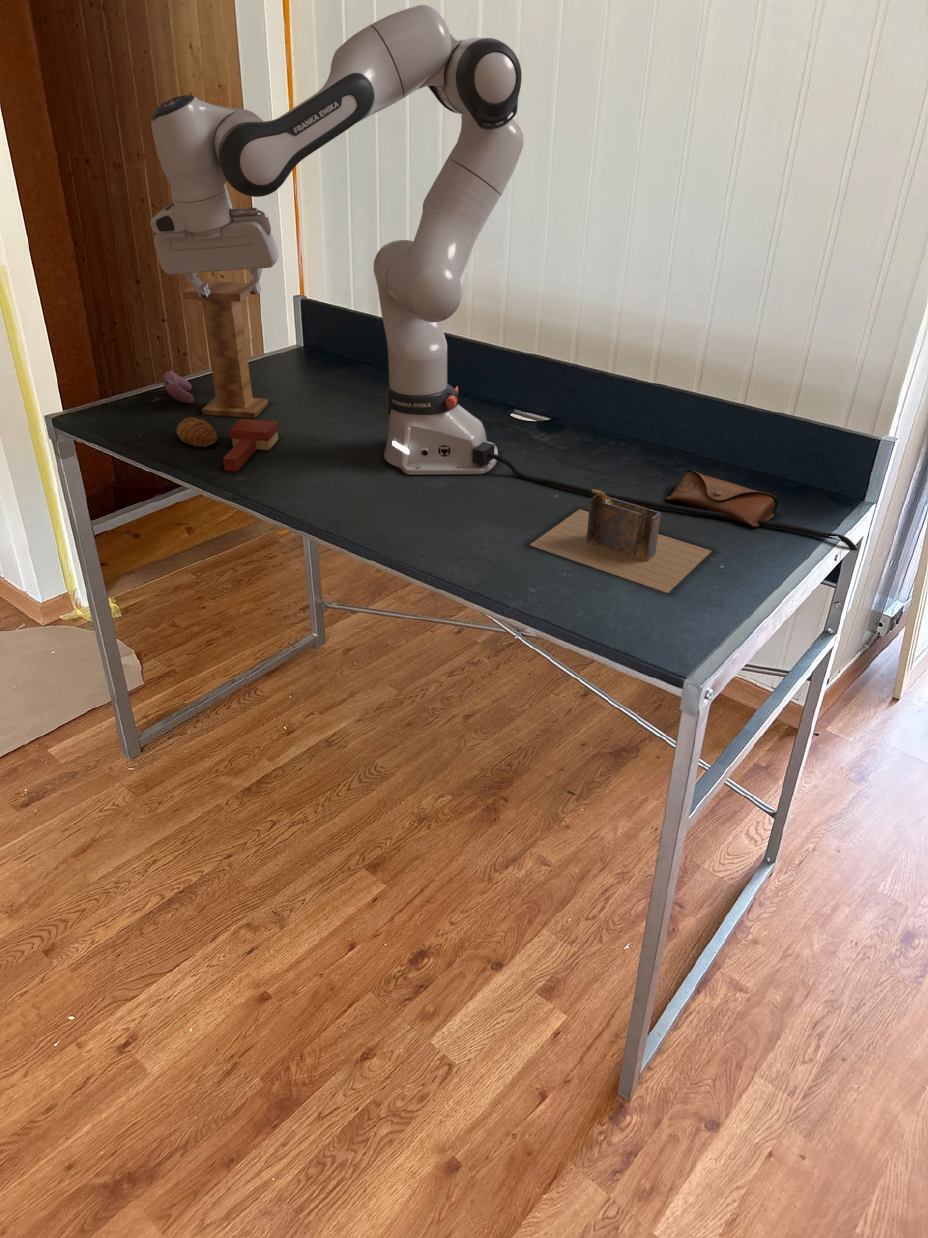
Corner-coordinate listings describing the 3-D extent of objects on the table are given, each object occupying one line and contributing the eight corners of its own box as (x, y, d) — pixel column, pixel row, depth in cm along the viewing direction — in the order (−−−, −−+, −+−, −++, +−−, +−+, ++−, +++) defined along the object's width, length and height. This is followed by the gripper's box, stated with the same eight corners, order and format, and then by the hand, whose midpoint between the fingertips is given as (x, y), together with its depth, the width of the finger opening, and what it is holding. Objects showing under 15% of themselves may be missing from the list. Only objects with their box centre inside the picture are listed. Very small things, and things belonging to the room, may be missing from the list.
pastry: (227, 442, 187) (224, 424, 184) (198, 452, 183) (194, 434, 180) (202, 430, 192) (199, 412, 190) (173, 439, 188) (170, 421, 186)
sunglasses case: (662, 498, 165) (675, 462, 164) (675, 504, 171) (688, 470, 170) (757, 528, 156) (772, 490, 155) (767, 534, 162) (782, 497, 161)
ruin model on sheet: (529, 545, 151) (531, 491, 146) (579, 509, 163) (583, 457, 157) (667, 593, 139) (676, 536, 134) (712, 550, 150) (721, 496, 145)
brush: (279, 439, 188) (277, 421, 186) (250, 472, 175) (248, 453, 173) (242, 436, 189) (240, 418, 187) (211, 469, 176) (208, 450, 174)
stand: (268, 404, 205) (254, 283, 191) (255, 418, 198) (239, 293, 183) (217, 400, 207) (199, 280, 192) (202, 414, 199) (182, 291, 185)
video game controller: (176, 397, 212) (157, 372, 208) (193, 387, 212) (174, 361, 208) (178, 412, 205) (159, 386, 200) (196, 401, 204) (176, 375, 200)
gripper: (271, 199, 149) (292, 283, 158) (155, 209, 153) (183, 289, 162) (259, 213, 144) (281, 298, 153) (140, 223, 148) (169, 305, 157)
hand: (230, 294), depth 158 cm, fingers open, 8 cm apart
